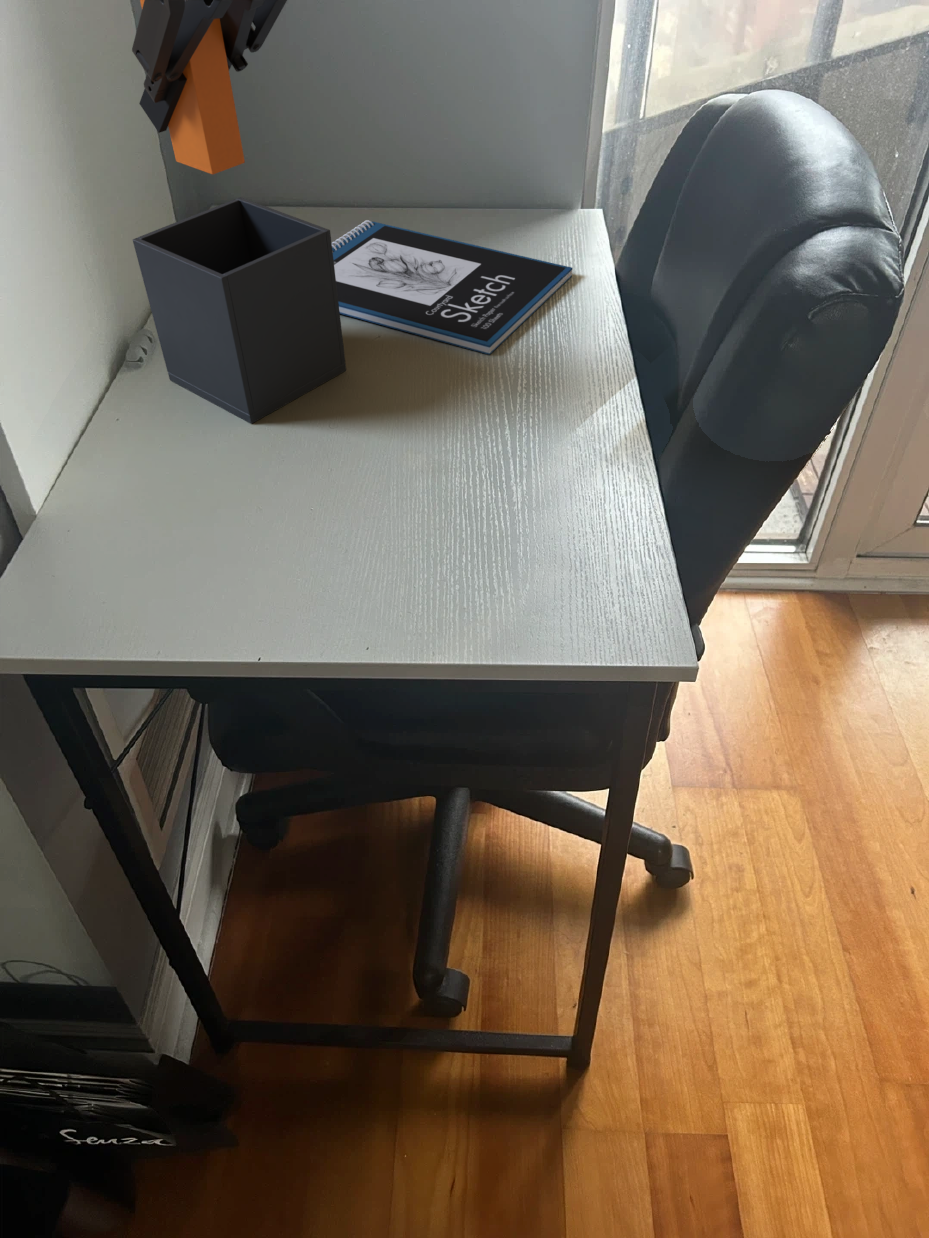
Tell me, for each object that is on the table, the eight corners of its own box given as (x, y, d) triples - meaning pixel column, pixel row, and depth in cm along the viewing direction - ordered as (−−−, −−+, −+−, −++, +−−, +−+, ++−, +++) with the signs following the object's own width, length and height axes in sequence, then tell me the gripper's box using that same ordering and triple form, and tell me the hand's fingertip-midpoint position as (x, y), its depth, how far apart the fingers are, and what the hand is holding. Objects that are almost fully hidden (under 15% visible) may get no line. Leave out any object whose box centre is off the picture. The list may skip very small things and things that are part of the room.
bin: (251, 424, 93) (221, 278, 83) (169, 380, 99) (132, 239, 89) (346, 370, 100) (330, 229, 90) (264, 332, 106) (240, 197, 96)
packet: (212, 175, 78) (178, 6, 70) (175, 162, 80) (138, -3, 72) (245, 163, 80) (216, -3, 72) (208, 150, 82) (176, -12, 74)
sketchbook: (490, 357, 102) (490, 339, 101) (268, 298, 113) (265, 282, 111) (572, 277, 115) (573, 260, 114) (366, 231, 126) (365, 215, 124)
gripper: (200, -44, 56) (117, 179, 76) (392, -85, 65) (273, 125, 85) (124, -164, 55) (59, 94, 75) (330, -189, 64) (224, 48, 83)
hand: (173, 110), depth 80 cm, fingers closed on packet, 3 cm apart
